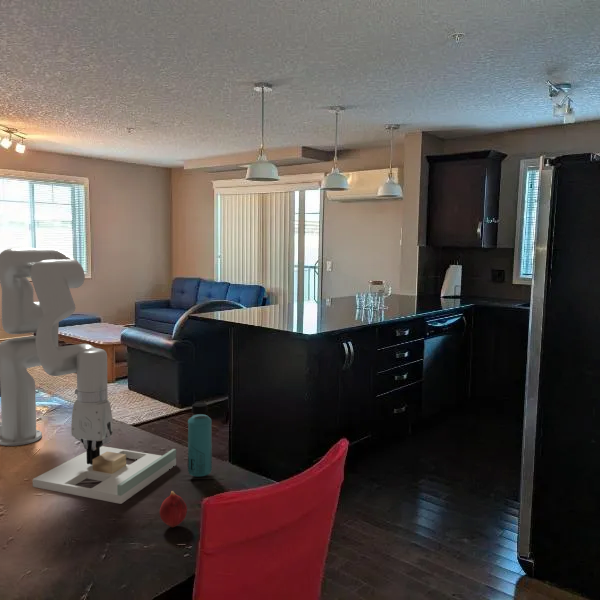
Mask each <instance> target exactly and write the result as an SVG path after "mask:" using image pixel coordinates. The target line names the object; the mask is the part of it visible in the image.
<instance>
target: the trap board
mask: <svg viewBox="0 0 600 600" xmlns="http://www.w3.org/2000/svg"><path fill="white" fill-rule="evenodd" d="M105 452H114V453H120V454H126V459H131V460H135V461H134V462H132V463H130V464H127V463H126V466H124V467H122V468H121V469H119V470H118V471H116V472H114V473H113V474H110V473H104V472H98V471H93V465H91V464H87V450H86V451H84V452H83V453H81V454H78V455H77V456H75V457H73V458H71V459H69V460H67V461H65V462H63V463H61V464H59V465H57V466H56V467H54V468H52V469H50V470H48V471H46V472H44V473H42V474H40V475H38V476H36V477H34V478H32V487H33V488H37V489H38V488H39V489H43V490H48V491H54V492H57V493H62V494H63V493H64V494H68V495H73V496H77V497H78V496H79V497H84V498H89V499H94V500H99V501H104V502H110V503H115V504H124V502H126V501H127V500H129V499H130V498H132V497H133V496H135V495H136V494H138V493H139V492H140V491H141V490H143V489H144V488H146V487H147V486H149V485H150V484H151V483H152V482H154V481H156V480H157V479H158V478H160V477H161V476H162V475H164V474H166V473H167V472H168V471H170V470H171V469H173V468H174V467H176V465H177V449H176V448H171V450H169V451H168V452H166V453H164V454H163V455H161V454H154V453H150V452H149V453H147V452H141V451H135V450H130V449H129V450H128V449H122V448H117V447H110V446H103V445H102V447H100V455H101V454H103V453H105ZM136 459H137V460H136ZM173 466H174V467H173ZM169 469H170V470H169ZM84 480H93V481H98V482H99V483H98V484H96V485H94V486H93V487H91V488H90V487H87V486H86V487H85V486H82V485H81V486H80V485H78V484H80V483H82V482H83V481H84Z"/></svg>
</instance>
